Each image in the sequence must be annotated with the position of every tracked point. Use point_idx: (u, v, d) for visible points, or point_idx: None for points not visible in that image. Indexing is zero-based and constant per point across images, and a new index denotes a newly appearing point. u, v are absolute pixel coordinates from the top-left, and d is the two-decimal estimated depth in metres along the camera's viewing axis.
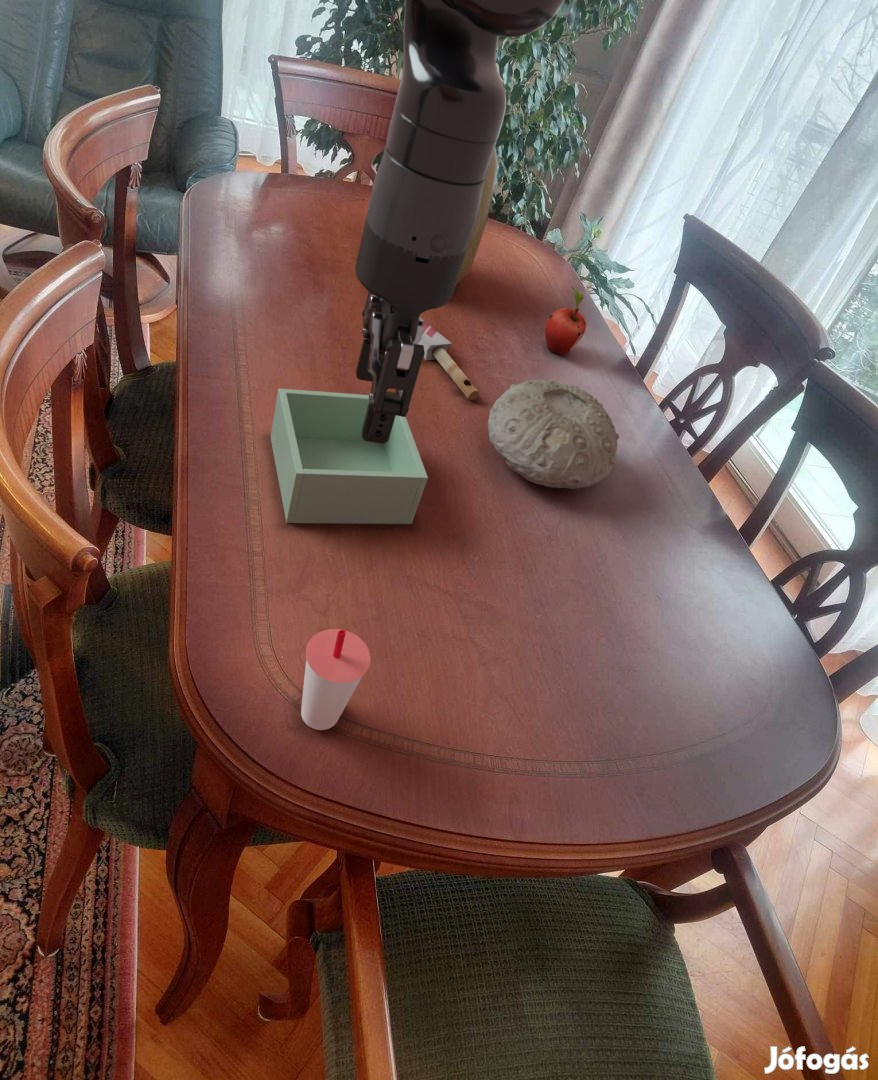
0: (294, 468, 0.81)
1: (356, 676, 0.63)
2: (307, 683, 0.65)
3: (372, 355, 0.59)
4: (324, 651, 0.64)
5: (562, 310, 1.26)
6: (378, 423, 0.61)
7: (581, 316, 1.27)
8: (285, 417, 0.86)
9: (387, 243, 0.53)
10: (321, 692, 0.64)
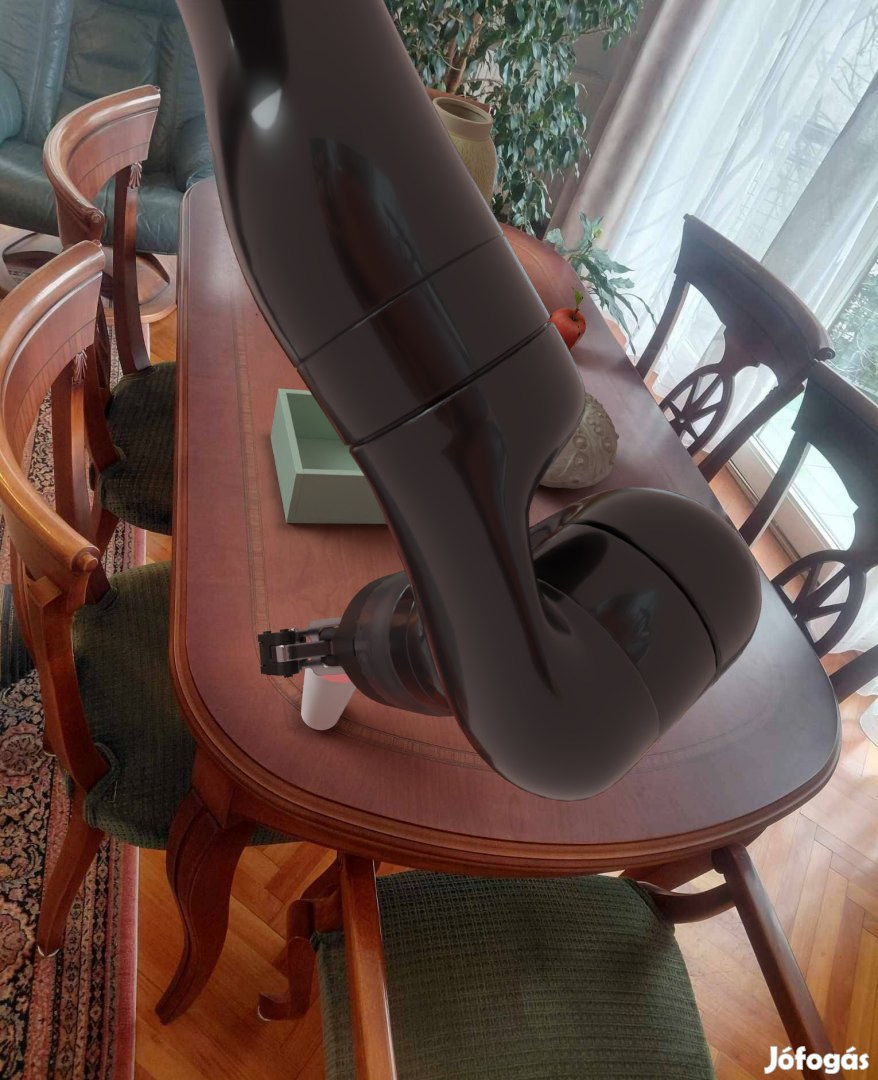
0: (294, 468, 0.81)
1: None
2: (307, 683, 0.65)
3: (323, 620, 0.48)
4: None
5: (562, 310, 1.26)
6: None
7: (581, 316, 1.27)
8: (285, 417, 0.86)
9: (367, 598, 0.40)
10: (321, 692, 0.64)
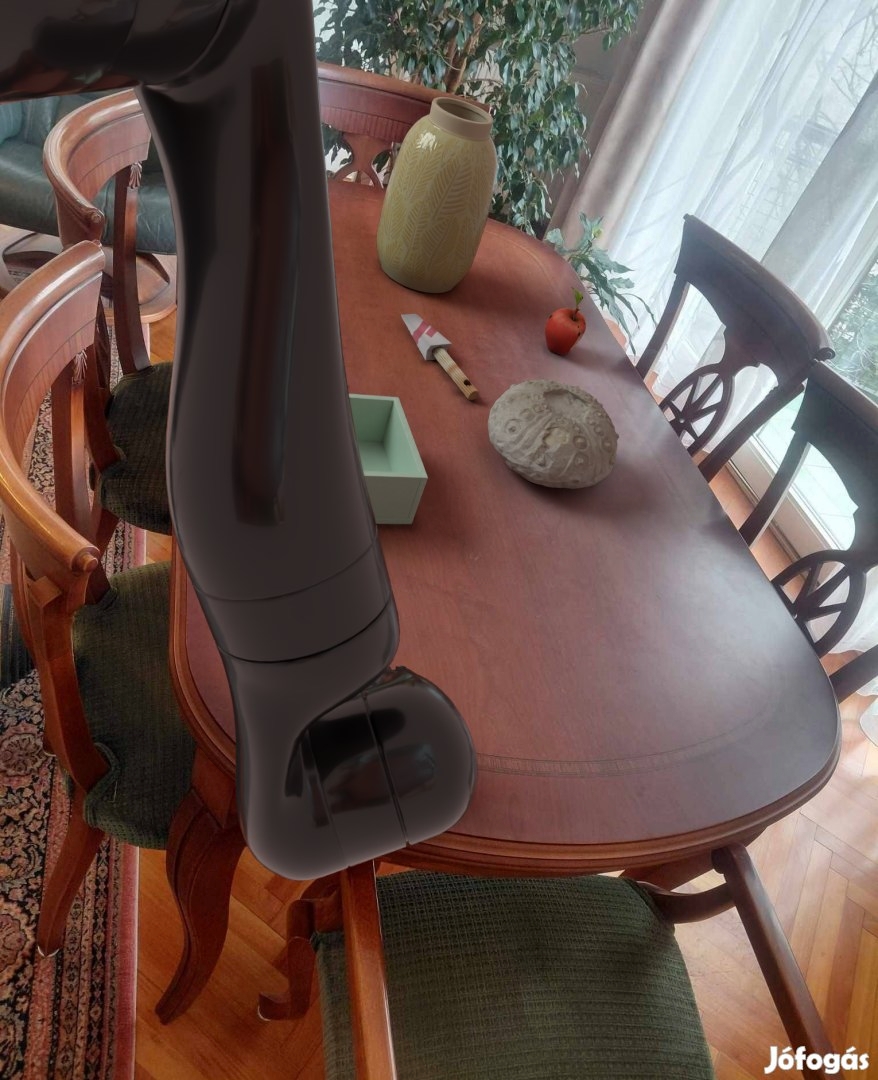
0: None
1: None
2: None
3: None
4: None
5: (562, 310, 1.26)
6: None
7: (581, 316, 1.27)
8: None
9: None
10: None
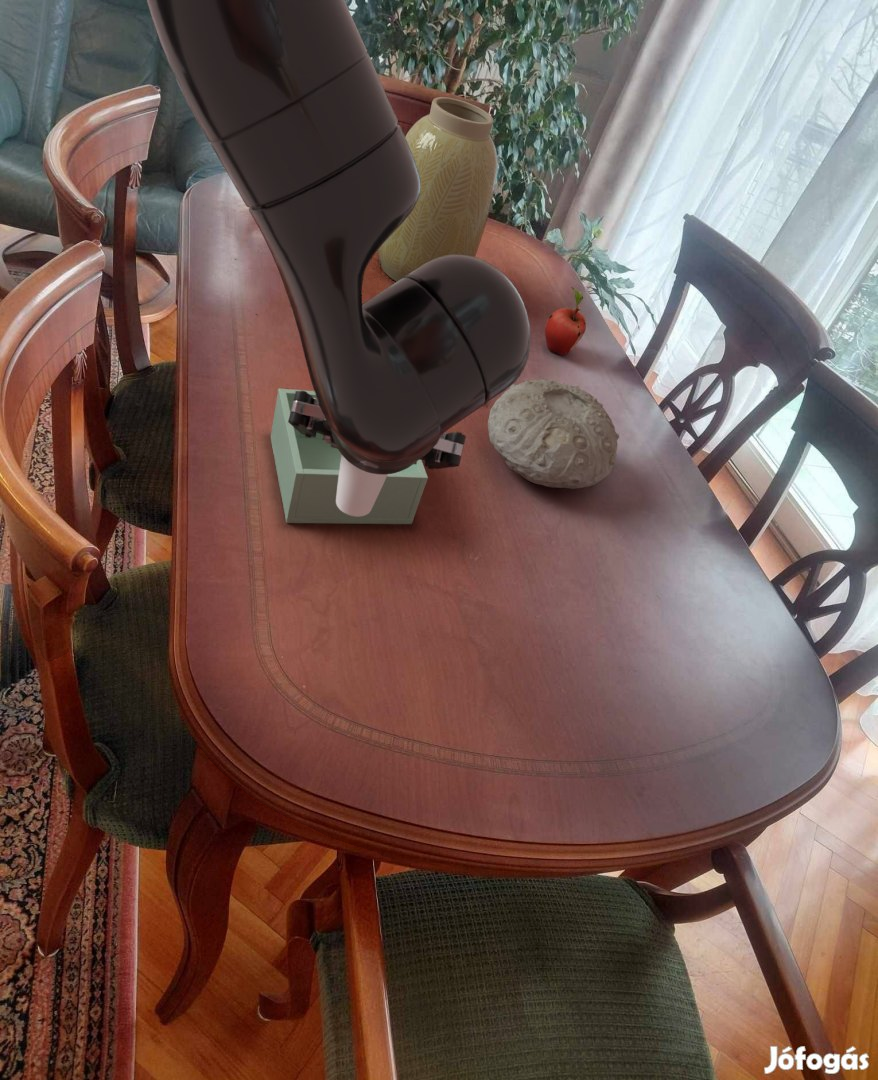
0: (294, 468, 0.81)
1: None
2: (344, 458, 0.67)
3: None
4: None
5: (562, 310, 1.26)
6: None
7: (581, 316, 1.27)
8: (285, 417, 0.86)
9: None
10: None
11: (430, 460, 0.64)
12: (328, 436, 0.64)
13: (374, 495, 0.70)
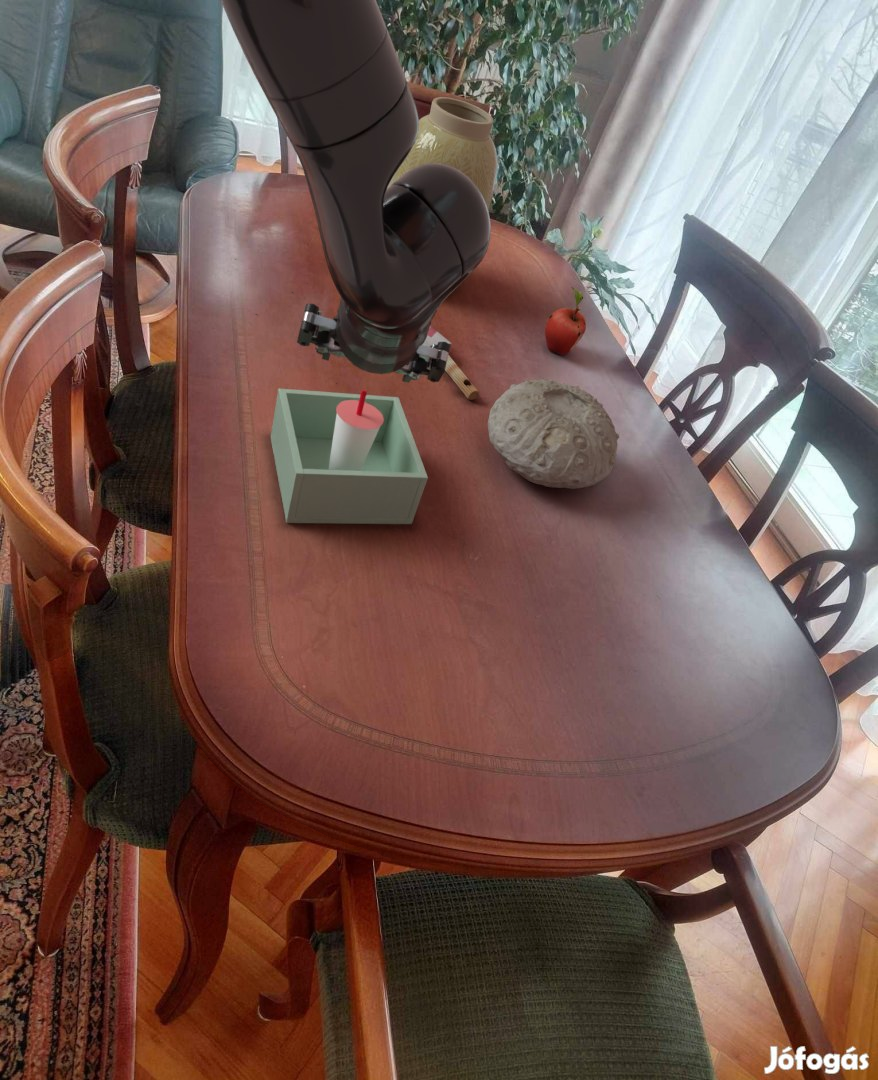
0: (294, 468, 0.81)
1: (374, 426, 0.85)
2: (336, 437, 0.87)
3: None
4: (349, 411, 0.86)
5: (562, 310, 1.26)
6: None
7: (581, 316, 1.27)
8: (285, 417, 0.86)
9: None
10: (348, 441, 0.86)
11: (429, 372, 0.76)
12: (323, 345, 0.75)
13: (359, 467, 0.90)
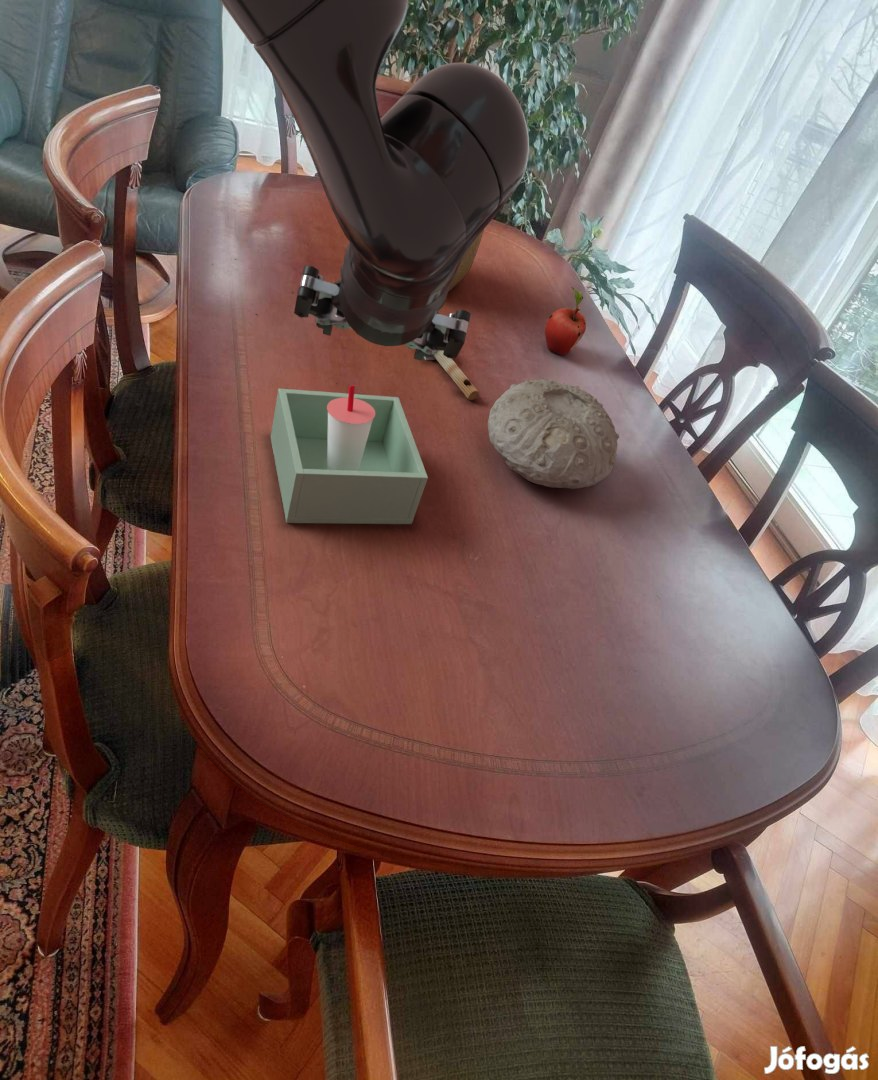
0: (294, 468, 0.81)
1: (366, 420, 0.85)
2: (330, 436, 0.87)
3: None
4: (340, 408, 0.86)
5: (562, 310, 1.26)
6: None
7: (581, 316, 1.27)
8: (285, 417, 0.86)
9: None
10: (342, 437, 0.86)
11: (445, 346, 0.66)
12: (324, 316, 0.65)
13: (357, 464, 0.90)
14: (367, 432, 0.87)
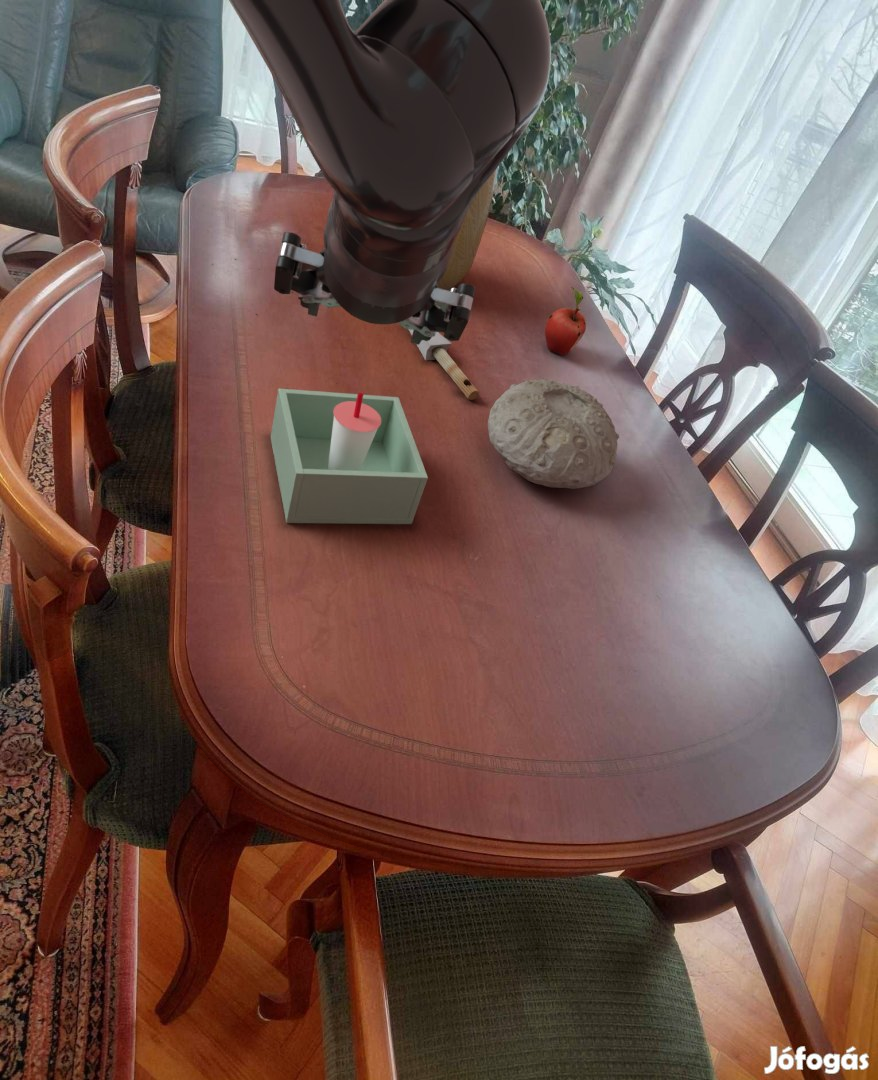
0: (294, 468, 0.81)
1: (372, 428, 0.85)
2: (334, 440, 0.87)
3: None
4: (347, 413, 0.86)
5: (562, 310, 1.26)
6: None
7: (581, 316, 1.27)
8: (285, 417, 0.86)
9: None
10: (346, 443, 0.86)
11: (446, 327, 0.58)
12: (308, 292, 0.57)
13: (358, 468, 0.90)
14: (371, 439, 0.87)
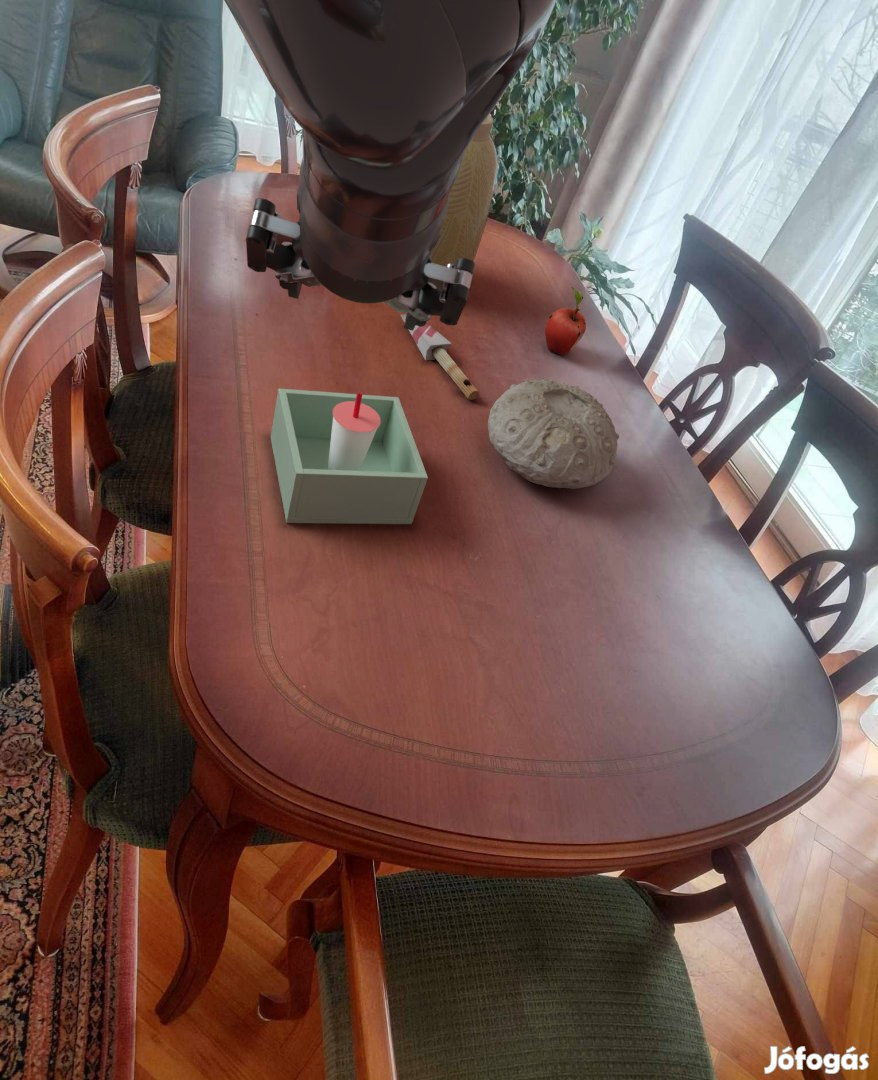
0: (294, 468, 0.81)
1: (371, 429, 0.85)
2: (334, 440, 0.87)
3: None
4: (346, 413, 0.86)
5: (562, 310, 1.26)
6: None
7: (581, 316, 1.27)
8: (285, 417, 0.86)
9: None
10: (345, 444, 0.86)
11: (442, 309, 0.52)
12: (286, 269, 0.51)
13: (358, 468, 0.90)
14: (371, 439, 0.87)
